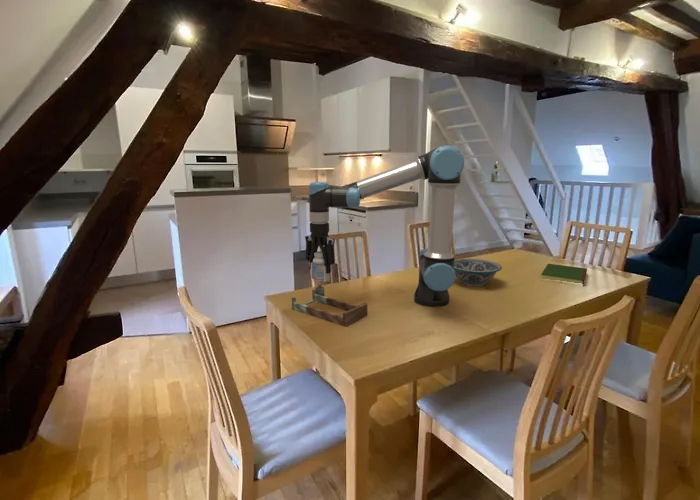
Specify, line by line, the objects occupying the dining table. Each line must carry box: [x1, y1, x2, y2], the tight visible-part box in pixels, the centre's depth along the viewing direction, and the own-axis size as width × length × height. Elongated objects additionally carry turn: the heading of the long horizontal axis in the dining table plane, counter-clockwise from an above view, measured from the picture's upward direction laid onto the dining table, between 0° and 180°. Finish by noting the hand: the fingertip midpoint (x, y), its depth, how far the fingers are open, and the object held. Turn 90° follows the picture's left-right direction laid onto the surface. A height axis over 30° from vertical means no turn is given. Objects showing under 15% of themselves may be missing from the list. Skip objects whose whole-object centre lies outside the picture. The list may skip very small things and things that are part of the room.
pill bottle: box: [312, 250, 325, 283], centre depth 158 cm, size 6×6×11 cm
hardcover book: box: [540, 263, 588, 284], centre depth 205 cm, size 25×19×4 cm
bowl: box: [454, 258, 503, 287], centre depth 195 cm, size 25×25×10 cm
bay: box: [291, 281, 368, 327], centre depth 161 cm, size 30×18×7 cm, turn 52°
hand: (320, 279), depth 159 cm, fingers closed on pill bottle, 6 cm apart
